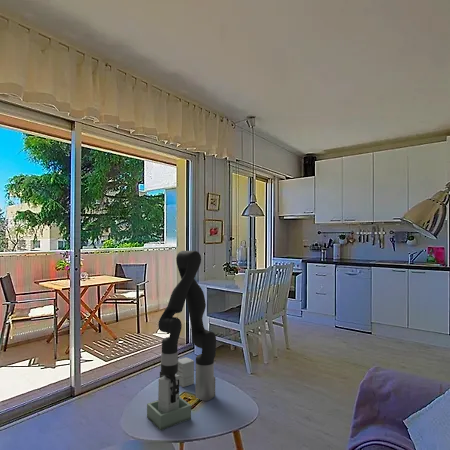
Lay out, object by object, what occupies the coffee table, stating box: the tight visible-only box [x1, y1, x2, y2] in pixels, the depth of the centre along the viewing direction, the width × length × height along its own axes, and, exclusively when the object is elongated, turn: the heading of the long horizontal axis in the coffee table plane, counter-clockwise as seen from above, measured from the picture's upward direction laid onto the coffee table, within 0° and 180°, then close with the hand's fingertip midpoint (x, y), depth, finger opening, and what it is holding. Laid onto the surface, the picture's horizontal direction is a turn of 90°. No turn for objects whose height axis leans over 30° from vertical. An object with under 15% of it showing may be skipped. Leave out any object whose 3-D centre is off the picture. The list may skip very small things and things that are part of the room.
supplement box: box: [176, 357, 195, 388], centre depth 189 cm, size 7×7×13 cm
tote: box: [146, 396, 192, 432], centre depth 154 cm, size 15×13×6 cm
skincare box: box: [157, 374, 180, 414], centre depth 154 cm, size 8×6×15 cm
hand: (168, 398), depth 154 cm, fingers closed on skincare box, 7 cm apart
